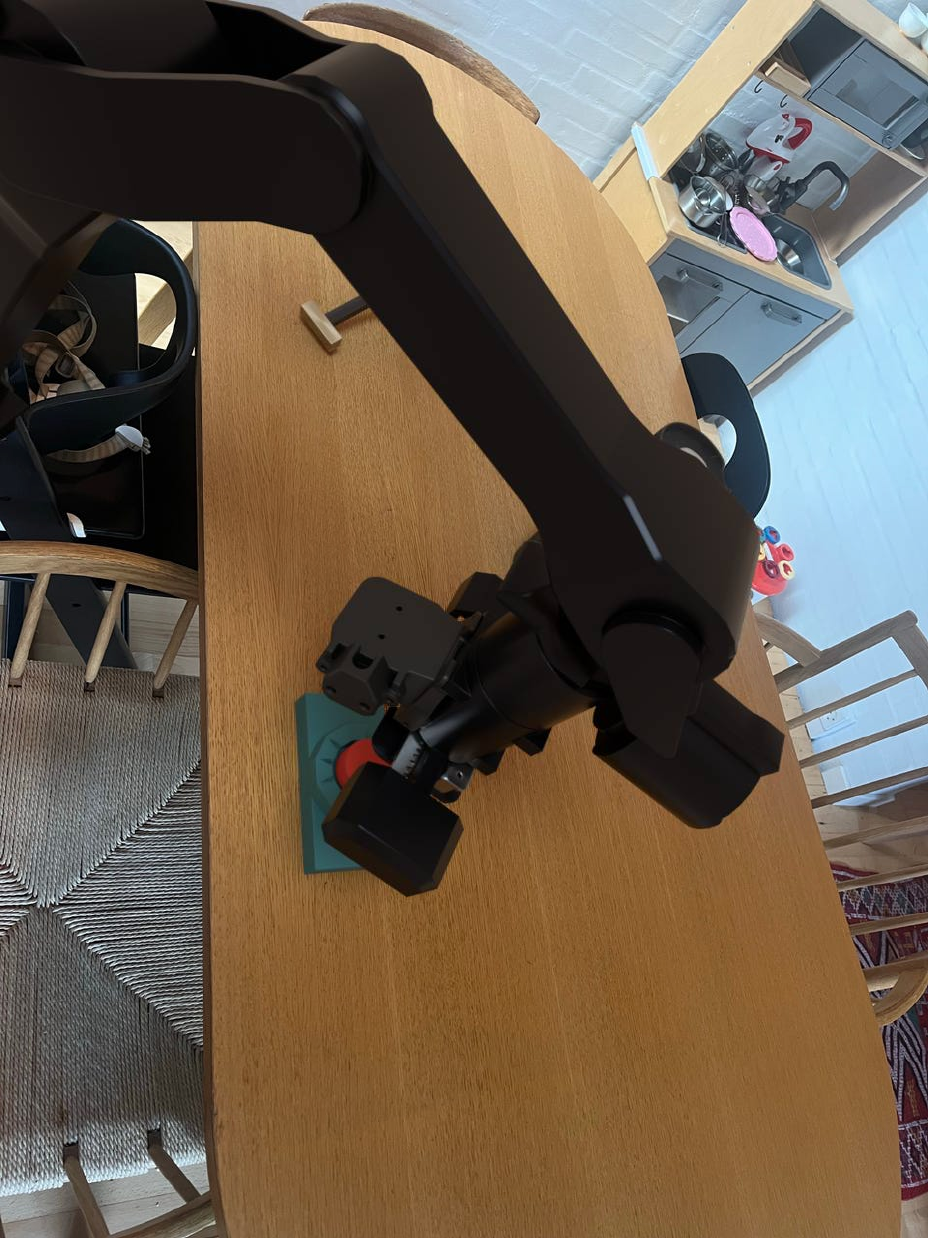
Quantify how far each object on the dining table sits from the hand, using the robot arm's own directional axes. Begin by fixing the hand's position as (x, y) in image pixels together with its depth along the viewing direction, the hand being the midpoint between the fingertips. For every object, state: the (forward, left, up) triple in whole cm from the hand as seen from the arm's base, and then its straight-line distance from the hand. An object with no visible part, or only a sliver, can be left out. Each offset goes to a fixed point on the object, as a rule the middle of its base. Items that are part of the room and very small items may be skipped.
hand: (385, 755), depth 49 cm
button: (0, 0, -4) cm, 4 cm away
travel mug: (-10, +28, -8) cm, 31 cm away
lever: (-40, +24, -4) cm, 47 cm away
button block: (0, 0, -8) cm, 8 cm away
